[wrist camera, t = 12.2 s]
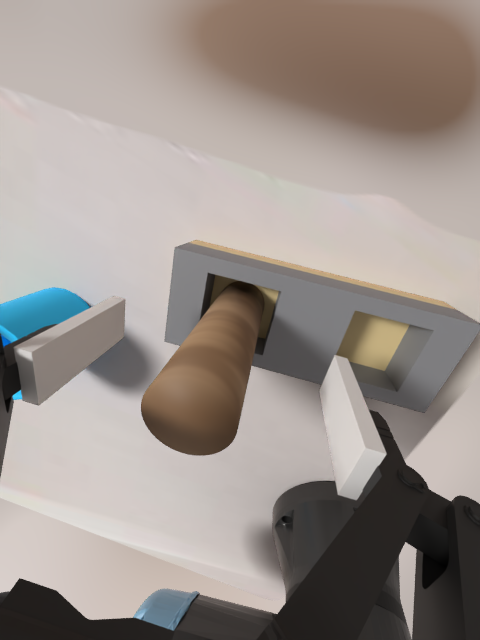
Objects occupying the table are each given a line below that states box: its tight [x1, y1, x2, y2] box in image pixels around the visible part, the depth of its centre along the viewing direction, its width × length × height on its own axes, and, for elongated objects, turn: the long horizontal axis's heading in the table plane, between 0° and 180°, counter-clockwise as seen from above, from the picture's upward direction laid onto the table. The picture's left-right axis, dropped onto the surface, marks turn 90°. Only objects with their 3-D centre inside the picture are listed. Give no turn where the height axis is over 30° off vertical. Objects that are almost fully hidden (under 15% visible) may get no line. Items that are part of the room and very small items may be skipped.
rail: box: [164, 240, 480, 413], centre depth 22 cm, size 22×8×5 cm, turn 78°
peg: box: [141, 281, 265, 455], centre depth 17 cm, size 4×4×14 cm
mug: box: [0, 287, 90, 400], centre depth 26 cm, size 12×8×8 cm
